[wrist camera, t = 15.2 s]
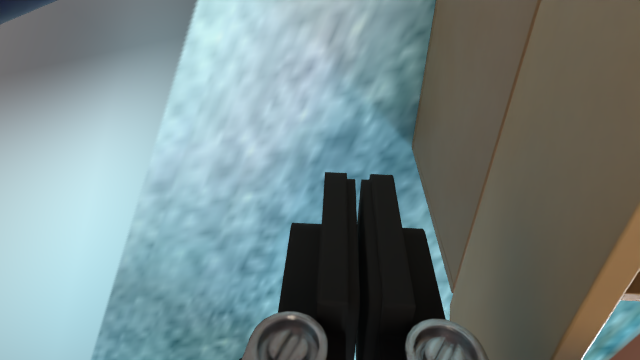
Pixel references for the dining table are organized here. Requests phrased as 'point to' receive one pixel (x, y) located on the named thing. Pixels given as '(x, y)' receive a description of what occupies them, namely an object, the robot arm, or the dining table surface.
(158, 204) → the dining table surface
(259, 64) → the dining table surface
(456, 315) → the flap
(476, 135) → the waste box
